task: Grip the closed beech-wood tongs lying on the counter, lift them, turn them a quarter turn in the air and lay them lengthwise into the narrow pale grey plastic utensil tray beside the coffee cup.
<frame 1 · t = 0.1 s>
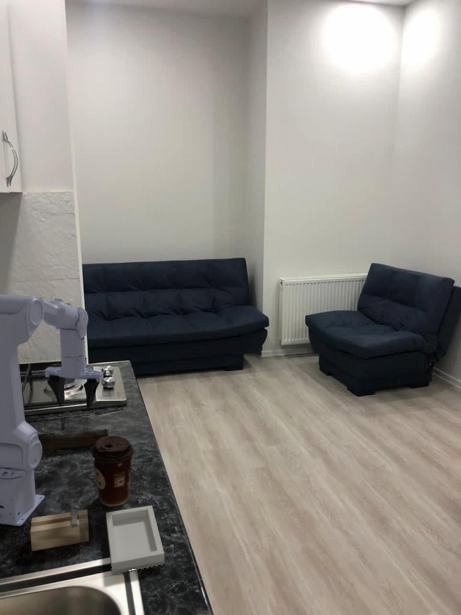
hand: (75, 404, 128), 10 cm above the worktop, fingers open, 7 cm apart
coffee cup: (113, 498, 108), on the worktop
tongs: (60, 538, 95), on the worktop
tray: (133, 542, 95), on the worktop
hand tool: (70, 450, 127), on the worktop
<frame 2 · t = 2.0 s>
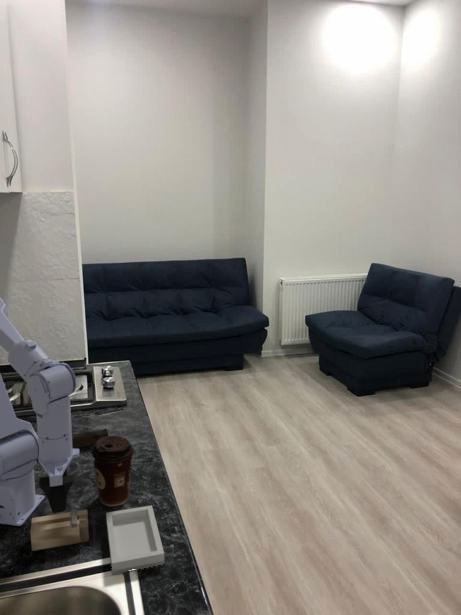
hand: (58, 498, 94), 8 cm above the worktop, fingers open, 7 cm apart
nothing on the worktop moved.
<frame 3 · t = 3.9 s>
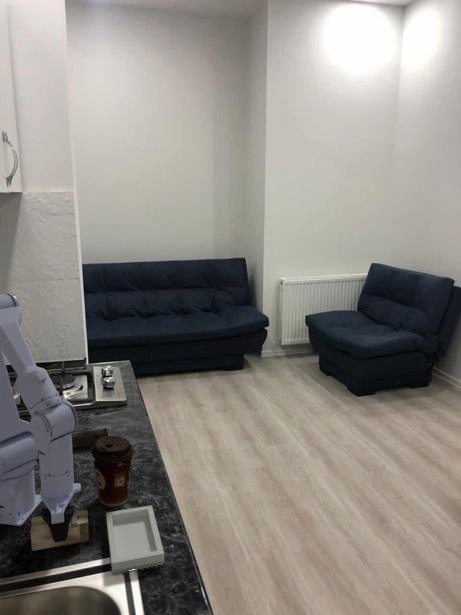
hand: (60, 532, 95), 1 cm above the worktop, fingers closed on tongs, 4 cm apart
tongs: (61, 538, 95), on the worktop, touching gripper
everything else where it was.
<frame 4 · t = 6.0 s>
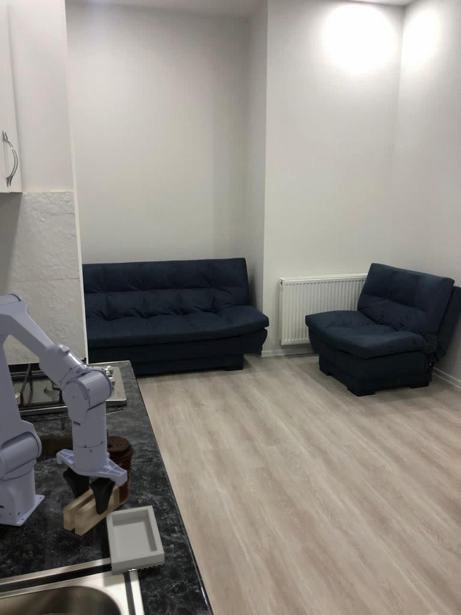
hand: (92, 507, 91), 8 cm above the worktop, fingers closed on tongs, 4 cm apart
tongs: (92, 516, 92), point 7 cm above the worktop, touching gripper
everything else where it was.
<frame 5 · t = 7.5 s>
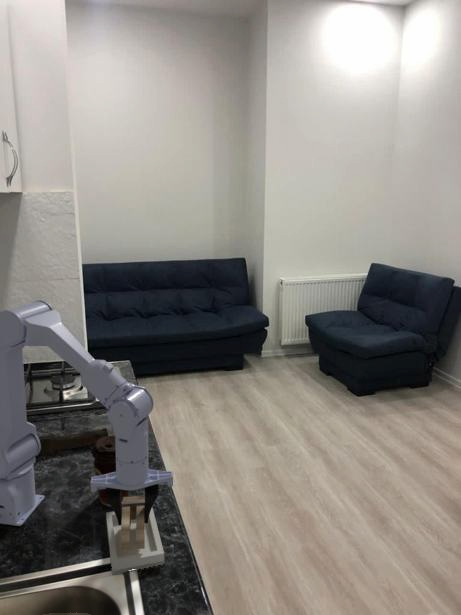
hand: (133, 520, 94), 5 cm above the worktop, fingers closed on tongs, 4 cm apart
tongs: (133, 531, 94), point 3 cm above the worktop, touching gripper
everything else where it was.
when the fingers open (4 cm above the worktop, at t = 8.5 s): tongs stays where it is, resting on tray.
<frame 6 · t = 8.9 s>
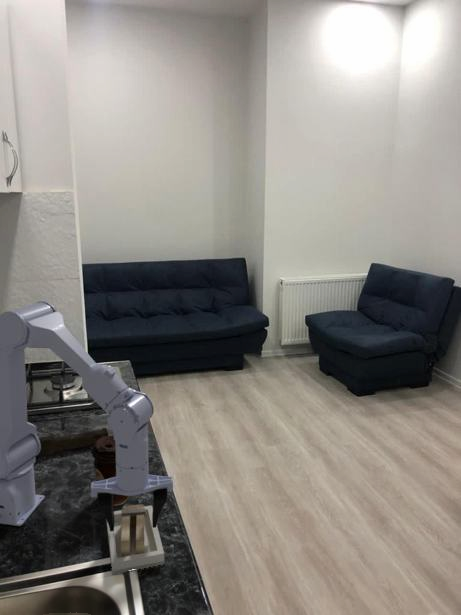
hand: (133, 525, 94), 4 cm above the worktop, fingers open, 7 cm apart
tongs: (133, 540, 94), point 1 cm above the worktop, touching tray
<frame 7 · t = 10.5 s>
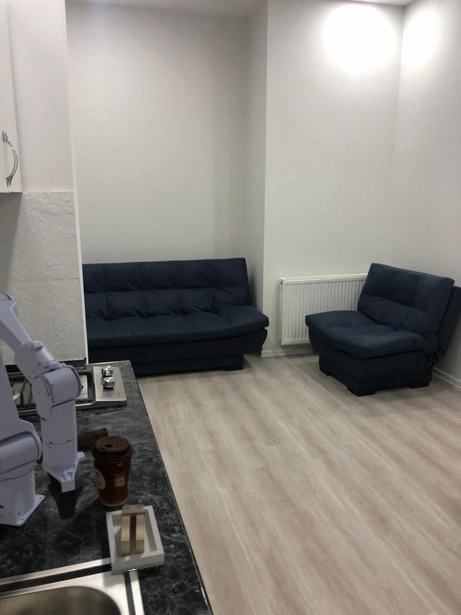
hand: (63, 504, 91), 9 cm above the worktop, fingers open, 7 cm apart
nothing on the worktop moved.
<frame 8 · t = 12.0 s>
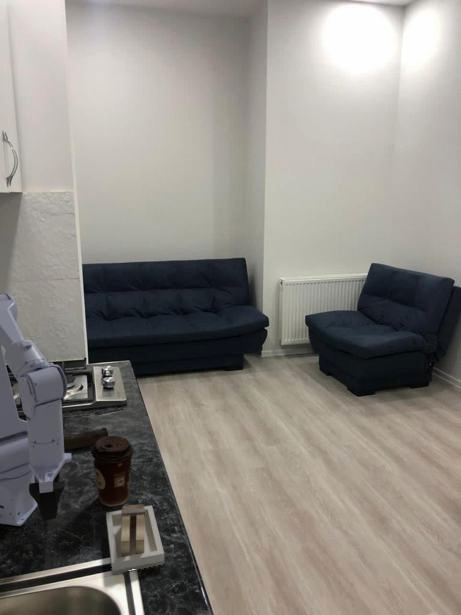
hand: (50, 504, 90), 9 cm above the worktop, fingers open, 7 cm apart
nothing on the worktop moved.
at the end: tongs 0.3 cm off-centre on the tray, point 0.8 cm above the tray's base; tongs tilted 0°; the gripper is holding nothing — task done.
